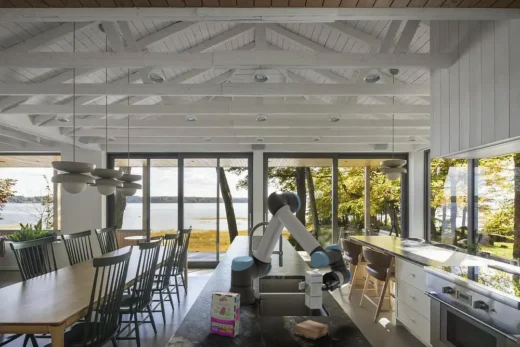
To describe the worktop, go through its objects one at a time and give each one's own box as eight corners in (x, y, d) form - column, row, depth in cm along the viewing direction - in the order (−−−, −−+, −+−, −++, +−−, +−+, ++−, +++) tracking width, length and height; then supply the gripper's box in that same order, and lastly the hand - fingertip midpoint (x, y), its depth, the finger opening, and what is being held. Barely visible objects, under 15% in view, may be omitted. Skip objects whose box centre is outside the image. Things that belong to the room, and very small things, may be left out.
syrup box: (322, 308, 152) (323, 273, 153) (309, 309, 151) (310, 273, 152) (316, 304, 158) (317, 270, 159) (303, 305, 156) (305, 270, 157)
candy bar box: (239, 333, 150) (241, 293, 151) (234, 338, 146) (236, 296, 147) (215, 329, 154) (217, 290, 155) (209, 333, 150) (211, 292, 151)
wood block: (308, 329, 160) (309, 319, 161) (328, 335, 153) (328, 326, 154) (294, 334, 153) (295, 324, 153) (314, 341, 146) (314, 331, 146)
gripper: (353, 292, 163) (330, 302, 145) (312, 284, 175) (287, 292, 157) (353, 275, 163) (330, 283, 145) (313, 268, 176) (287, 275, 157)
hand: (308, 288), depth 151 cm, fingers closed on syrup box, 8 cm apart
